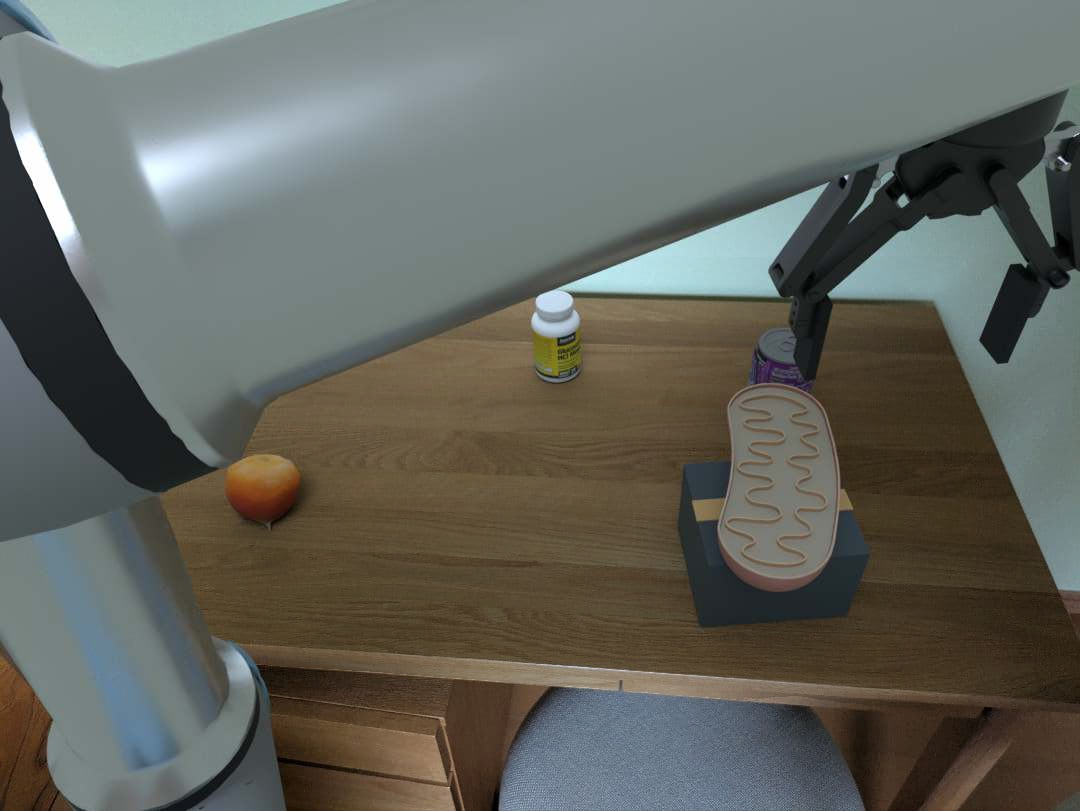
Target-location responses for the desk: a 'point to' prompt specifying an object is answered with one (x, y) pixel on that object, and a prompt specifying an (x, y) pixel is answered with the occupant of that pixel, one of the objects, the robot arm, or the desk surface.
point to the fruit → (262, 487)
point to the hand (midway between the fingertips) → (898, 360)
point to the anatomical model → (779, 488)
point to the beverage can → (777, 361)
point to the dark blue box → (737, 601)
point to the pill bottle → (556, 337)
